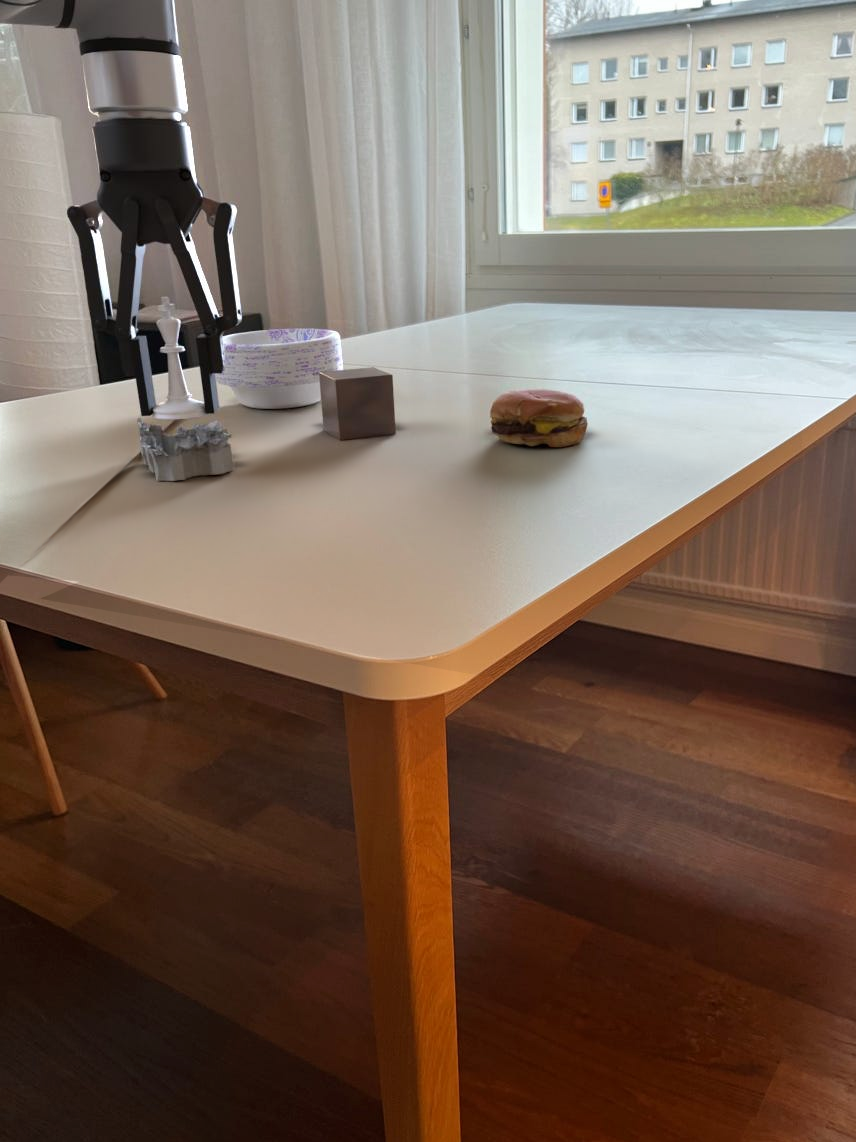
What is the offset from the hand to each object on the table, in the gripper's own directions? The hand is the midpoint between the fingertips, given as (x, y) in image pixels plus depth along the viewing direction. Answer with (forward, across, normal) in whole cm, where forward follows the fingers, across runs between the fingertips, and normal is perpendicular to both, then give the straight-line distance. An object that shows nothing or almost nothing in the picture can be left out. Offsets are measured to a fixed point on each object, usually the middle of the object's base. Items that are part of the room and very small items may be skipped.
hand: (181, 411), depth 89 cm
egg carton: (+5, 0, 0) cm, 5 cm away
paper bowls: (+5, -5, -32) cm, 33 cm away
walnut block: (+5, -15, -13) cm, 21 cm away
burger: (+5, -33, -6) cm, 34 cm away
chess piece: (0, 0, 0) cm, 0 cm away
